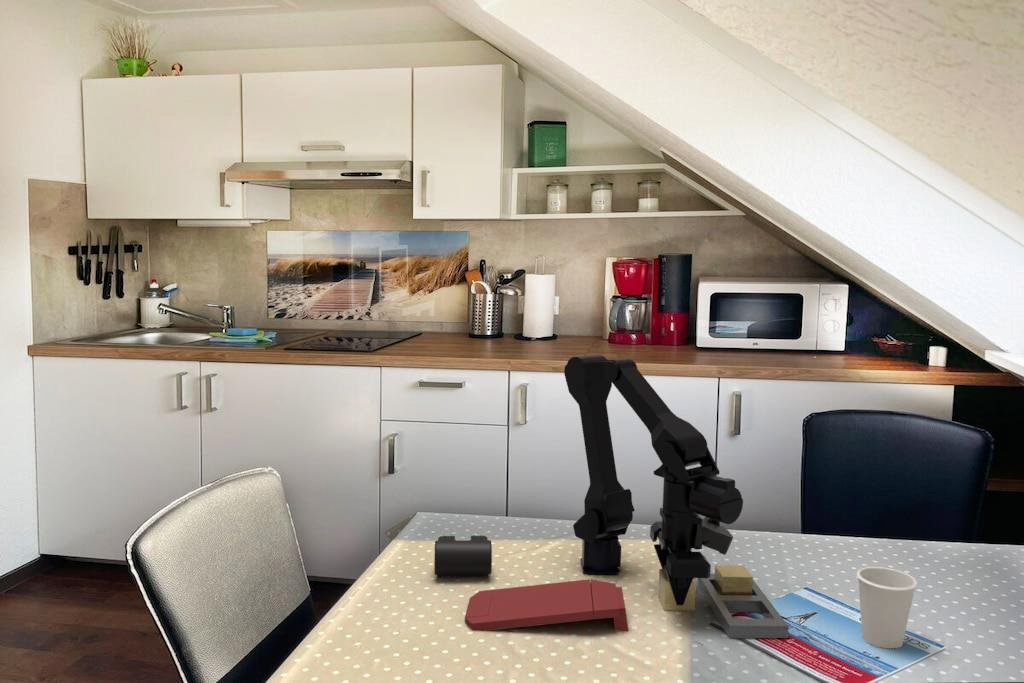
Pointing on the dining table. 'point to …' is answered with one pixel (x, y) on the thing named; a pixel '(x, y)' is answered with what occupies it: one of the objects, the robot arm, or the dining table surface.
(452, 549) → the end cap
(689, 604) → the wooden cube
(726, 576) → the tan block seated
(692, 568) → the robot arm
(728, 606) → the grey slotted tray
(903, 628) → the dixie cup
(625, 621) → the red ramp
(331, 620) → the dining table surface
